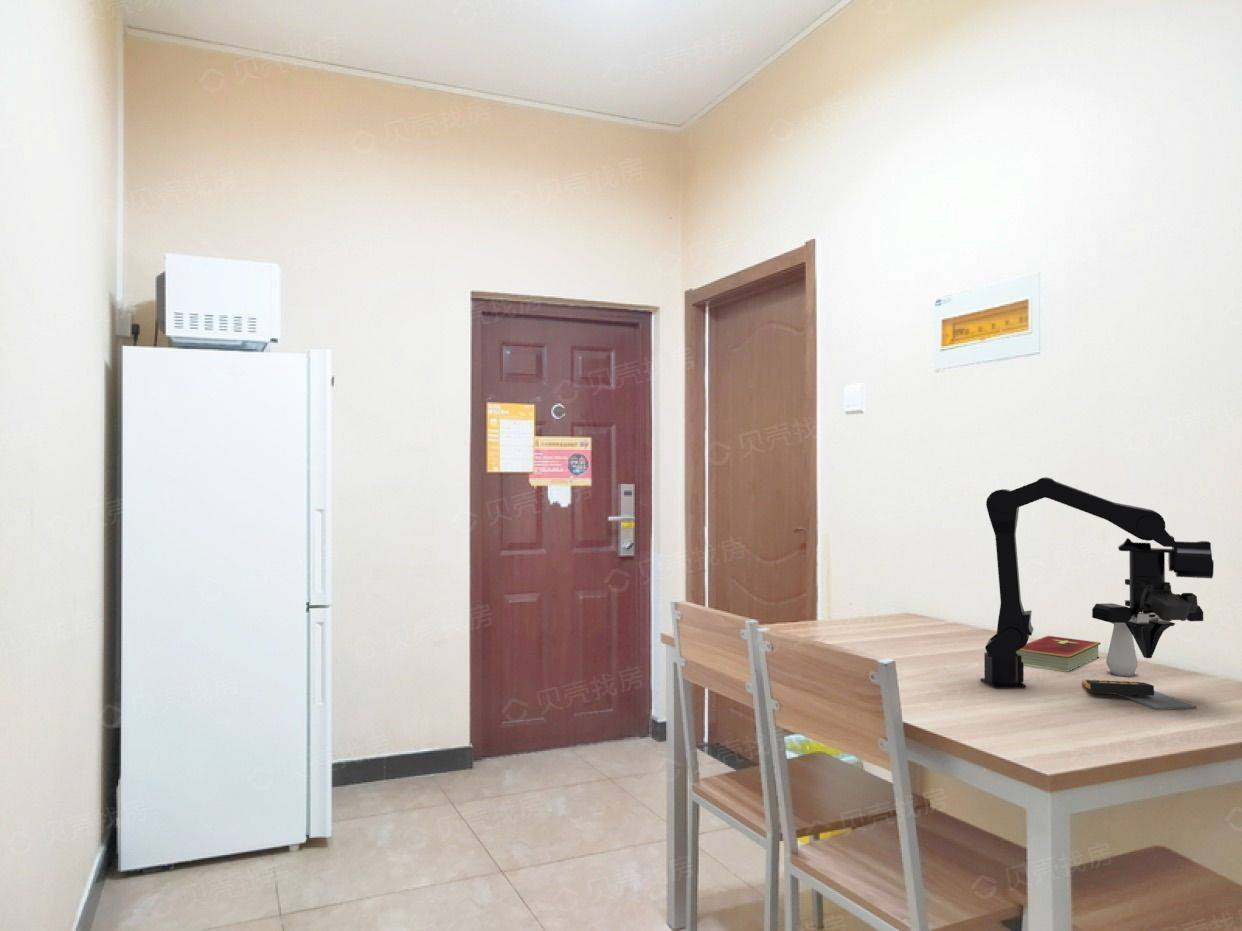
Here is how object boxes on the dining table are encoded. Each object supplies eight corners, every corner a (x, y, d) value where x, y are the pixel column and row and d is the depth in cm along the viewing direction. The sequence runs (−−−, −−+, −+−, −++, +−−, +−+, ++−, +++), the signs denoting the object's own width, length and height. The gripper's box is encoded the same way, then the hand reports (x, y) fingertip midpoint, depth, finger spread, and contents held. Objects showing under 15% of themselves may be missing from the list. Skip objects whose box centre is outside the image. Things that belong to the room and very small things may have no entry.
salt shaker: (1106, 675, 182) (1106, 614, 182) (1105, 669, 187) (1105, 610, 187) (1138, 678, 179) (1138, 616, 179) (1136, 672, 184) (1136, 612, 185)
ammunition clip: (1090, 682, 165) (1077, 676, 176) (1090, 692, 165) (1078, 685, 176) (1153, 685, 162) (1137, 678, 173) (1154, 695, 161) (1137, 688, 173)
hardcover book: (1012, 665, 193) (1012, 647, 193) (1046, 651, 208) (1046, 634, 208) (1069, 674, 185) (1069, 655, 185) (1100, 659, 200) (1100, 641, 200)
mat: (1155, 709, 156) (1155, 707, 156) (1112, 692, 168) (1112, 690, 168) (1197, 708, 157) (1197, 706, 157) (1150, 691, 169) (1150, 689, 169)
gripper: (1129, 581, 154) (1130, 669, 154) (1226, 580, 155) (1227, 666, 155) (1090, 574, 165) (1090, 655, 165) (1181, 572, 167) (1181, 653, 166)
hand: (1147, 657), depth 163 cm, fingers closed
